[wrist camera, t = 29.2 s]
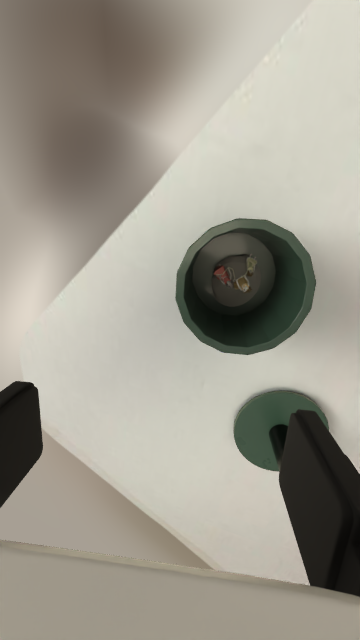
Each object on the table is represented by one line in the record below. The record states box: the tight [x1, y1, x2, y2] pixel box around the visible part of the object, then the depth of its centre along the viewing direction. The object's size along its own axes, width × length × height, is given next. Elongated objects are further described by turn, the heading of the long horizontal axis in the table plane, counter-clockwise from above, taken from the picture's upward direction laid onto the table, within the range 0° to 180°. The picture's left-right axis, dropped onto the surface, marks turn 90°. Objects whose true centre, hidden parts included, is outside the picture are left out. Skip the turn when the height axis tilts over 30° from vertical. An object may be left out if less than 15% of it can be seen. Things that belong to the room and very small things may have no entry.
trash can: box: [176, 218, 316, 355], centre depth 23 cm, size 9×9×10 cm
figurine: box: [212, 254, 261, 307], centre depth 25 cm, size 5×4×6 cm
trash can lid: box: [234, 391, 329, 472], centre depth 29 cm, size 10×10×7 cm
